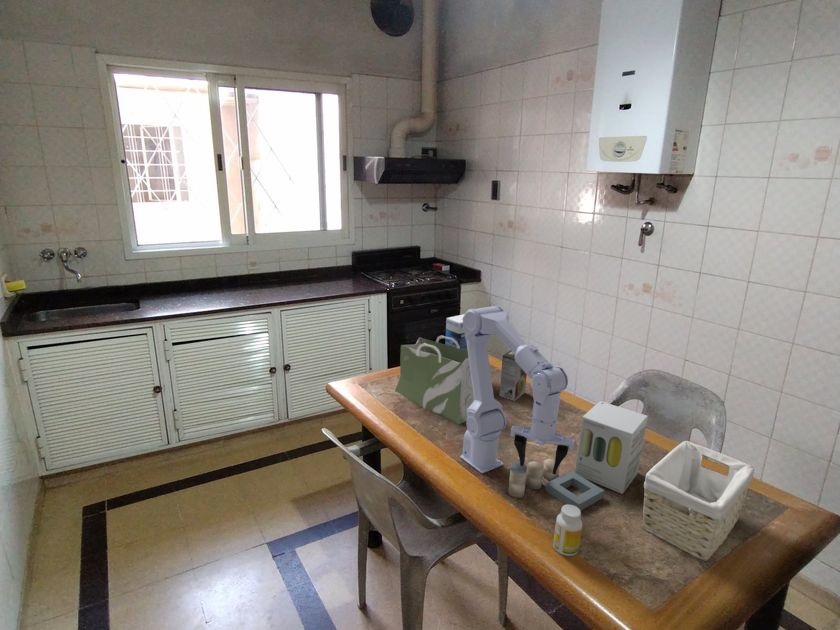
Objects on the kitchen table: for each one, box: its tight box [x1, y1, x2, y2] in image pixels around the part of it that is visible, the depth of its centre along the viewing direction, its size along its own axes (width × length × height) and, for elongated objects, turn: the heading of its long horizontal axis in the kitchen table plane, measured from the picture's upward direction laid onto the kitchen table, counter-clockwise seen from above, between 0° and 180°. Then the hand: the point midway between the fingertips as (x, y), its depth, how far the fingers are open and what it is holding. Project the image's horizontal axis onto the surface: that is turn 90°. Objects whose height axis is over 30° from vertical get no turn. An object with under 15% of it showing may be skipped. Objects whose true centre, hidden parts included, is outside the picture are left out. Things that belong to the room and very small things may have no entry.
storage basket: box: [642, 440, 755, 562], centre depth 114 cm, size 24×16×15 cm
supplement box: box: [574, 400, 649, 495], centre depth 132 cm, size 13×13×18 cm
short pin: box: [543, 458, 561, 482], centre depth 132 cm, size 4×4×4 cm
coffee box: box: [498, 349, 528, 402], centre depth 178 cm, size 9×6×16 cm
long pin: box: [507, 461, 528, 499], centre depth 124 cm, size 4×4×8 cm
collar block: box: [545, 470, 605, 511], centre depth 125 cm, size 10×10×2 cm
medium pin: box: [525, 460, 544, 490], centre depth 128 cm, size 4×4×6 cm
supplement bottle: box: [552, 504, 583, 557], centre depth 106 cm, size 5×5×10 cm
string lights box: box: [445, 313, 467, 350], centre depth 187 cm, size 13×8×26 cm, turn 130°
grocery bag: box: [394, 335, 474, 425], centre depth 170 cm, size 32×14×23 cm, turn 44°
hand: (538, 468), depth 119 cm, fingers open, 7 cm apart
